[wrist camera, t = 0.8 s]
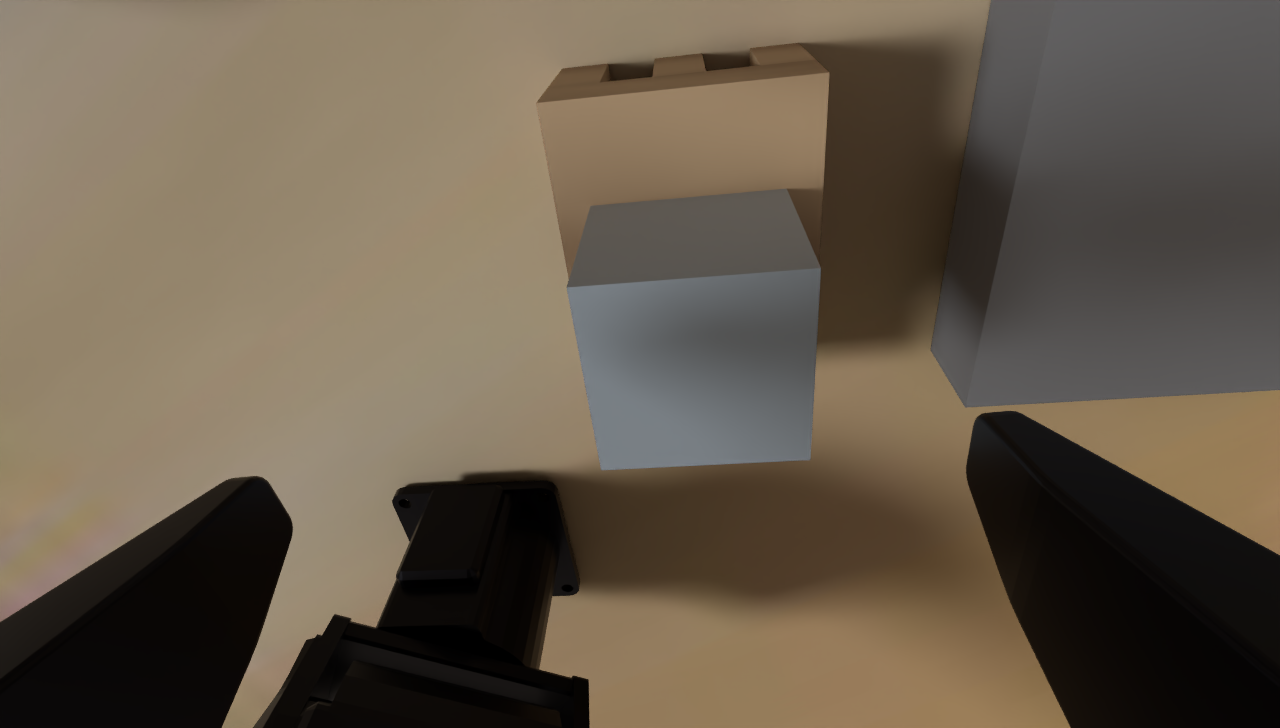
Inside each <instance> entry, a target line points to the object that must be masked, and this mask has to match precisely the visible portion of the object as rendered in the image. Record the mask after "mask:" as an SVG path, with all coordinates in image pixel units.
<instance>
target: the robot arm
mask: <svg viewBox="0 0 1280 728" xmlns="http://www.w3.org/2000/svg"><path fill="white" fill-rule="evenodd" d="M966 475H967V481H968V485H969V488H970V491H971V494H972V497H973V500H974V503H975V505H976V508H977V511H978V514H979V517H980V520H981V522H982V525H983V528H984V531H985V534H986V537H987V539H988V542H989V545H990V548H991V551H992V554H993V556H994V559H995V562H996V565H997V568H998V571H999V573H1000V576H1001V579H1002V582H1003V585H1004V587H1005V590H1006V593H1007V595H1008V598H1009V600H1010V603H1011V605H1012V607H1013V609H1014V612H1015V614H1016V616H1017V618H1018V620H1019V623H1020V625H1021V627H1022V629H1023V631H1024V633H1025V635H1026V637H1027V639H1028V641H1029V643H1030V645H1031V647H1032V649H1033V651H1034V653H1035V655H1036V658H1037V660H1038V662H1039V664H1040V666H1041V668H1042V670H1043V672H1044V674H1045V676H1046V678H1047V680H1048V682H1049V684H1050V686H1051V688H1052V690H1053V692H1054V694H1055V696H1056V699H1057V701H1058V703H1059V705H1060V707H1061V709H1062V711H1063V713H1064V715H1065V717H1066V719H1067V721H1068V723H1069V725H1070V727H1071V728H1280V555H1278V554H1276V553H1275V552H1273V551H1271V550H1269V549H1267V548H1265V547H1264V546H1262V545H1260V544H1258V543H1256V542H1255V541H1253V540H1251V539H1249V538H1247V537H1245V536H1244V535H1242V534H1240V533H1238V532H1236V531H1234V530H1233V529H1231V528H1229V527H1227V526H1225V525H1224V524H1222V523H1220V522H1218V521H1216V520H1214V519H1213V518H1211V517H1209V516H1207V515H1205V514H1203V513H1202V512H1200V511H1198V510H1196V509H1194V508H1193V507H1191V506H1189V505H1187V504H1185V503H1183V502H1182V501H1180V500H1178V499H1176V498H1174V497H1173V496H1171V495H1169V494H1167V493H1165V492H1163V491H1162V490H1160V489H1158V488H1156V487H1154V486H1152V485H1151V484H1149V483H1147V482H1145V481H1143V480H1142V479H1140V478H1138V477H1136V476H1134V475H1132V474H1131V473H1129V472H1127V471H1125V470H1123V469H1121V468H1120V467H1118V466H1116V465H1114V464H1112V463H1111V462H1109V461H1107V460H1105V459H1103V458H1101V457H1100V456H1098V455H1096V454H1094V453H1092V452H1091V451H1089V450H1087V449H1085V448H1083V447H1081V446H1080V445H1078V444H1076V443H1074V442H1072V441H1070V440H1069V439H1067V438H1065V437H1063V436H1061V435H1060V434H1058V433H1056V432H1054V431H1052V430H1050V429H1049V428H1047V427H1045V426H1043V425H1041V424H1039V423H1038V422H1036V421H1034V420H1032V419H1030V418H1029V417H1027V416H1025V415H1023V414H1021V413H1019V412H1016V411H1003V412H992V413H983V414H981V415H979V416H978V417H977V418H976V420H975V422H974V425H973V431H972V436H971V442H970V448H969V453H968V459H967V465H966ZM541 493H546V494H547V495H545V494H541ZM405 499H406V500H405ZM407 500H408V501H407ZM392 503H393V506H394V508H395V510H396V512H397V515H398V517H399V519H400V521H401V524H402V526H403V528H404V530H405V532H406V535H407V537H408V539H409V541H410V543H409V545H408V547H407V550H406V552H405V555H404V557H403V559H402V562H401V564H400V566H399V569H398V571H397V574H396V578H397V579H396V581H395V584H394V586H393V588H392V591H391V593H390V595H389V598H388V600H387V603H386V605H385V607H384V610H383V612H382V614H381V617H380V619H379V622H378V624H377V626H376V628H375V627H371V626H367V625H363V624H359V623H355V622H352V621H351V618H348V617H344V616H340V615H337V614H334V616H333V617H332V619H331V621H330V623H329V624H328V626H327V628H326V630H325V631H324V633H323V635H318V634H317V636H316V637H315V638H313V639H308V640H306V642H305V644H304V646H303V648H302V650H301V651H300V653H299V655H298V657H297V659H296V661H295V663H294V665H293V667H292V669H291V671H290V673H289V675H288V677H287V678H286V680H285V682H284V684H283V686H282V687H281V689H280V691H279V692H278V694H277V695H276V697H275V698H274V699H273V701H272V702H271V703H270V705H269V706H268V708H267V709H266V710H265V712H264V713H263V714H262V716H261V717H260V719H259V720H258V721H257V723H256V724H255V725H254V727H253V728H589V681H588V679H585V678H581V677H577V676H572V678H570V677H566V676H562V675H558V674H554V673H550V672H546V671H542V670H539V667H540V662H541V656H542V650H543V645H544V639H545V634H546V628H547V622H548V617H549V611H550V606H551V600H552V596H570V595H574V594H576V593H577V592H578V591H579V585H580V578H579V574H578V570H577V566H576V562H575V558H574V554H573V550H572V546H571V542H570V538H569V534H568V530H567V526H566V522H565V517H564V513H563V509H562V505H561V501H560V497H559V493H558V489H557V487H556V486H555V485H554V484H553V483H551V482H549V481H523V482H502V483H482V484H461V485H440V486H419V487H403V488H400V489H398V490H397V492H396V494H395V496H394V498H393V500H392ZM292 532H293V526H292V521H291V518H290V516H289V514H288V513H287V511H286V509H285V508H284V506H283V505H282V503H281V501H280V500H279V498H278V496H277V495H276V493H275V492H274V490H273V488H272V487H271V485H270V484H269V482H268V481H267V480H265V479H264V478H262V477H258V476H250V477H239V478H232V479H228V480H226V481H224V482H222V483H221V484H219V485H218V486H216V487H214V488H213V489H211V490H210V491H208V492H206V493H205V494H203V495H202V496H200V497H198V498H197V499H195V500H194V501H192V502H191V503H189V504H187V505H186V506H184V507H183V508H181V509H179V510H178V511H176V512H175V513H173V514H171V515H170V516H168V517H167V518H165V519H164V520H162V521H160V522H159V523H157V524H156V525H154V526H152V527H151V528H149V529H148V530H146V531H144V532H143V533H141V534H140V535H138V536H136V537H135V538H133V539H132V540H130V541H129V542H127V543H125V544H124V545H122V546H121V547H119V548H117V549H116V550H114V551H113V552H111V553H109V554H108V555H106V556H105V557H103V558H101V559H100V560H98V561H97V562H95V563H94V564H92V565H90V566H89V567H87V568H86V569H84V570H82V571H81V572H79V573H78V574H76V575H74V576H73V577H71V578H70V579H68V580H67V581H65V582H63V583H62V584H60V585H59V586H57V587H55V588H54V589H52V590H51V591H49V592H47V593H46V594H44V595H43V596H41V597H39V598H38V599H36V600H35V601H33V602H32V603H30V604H28V605H27V606H25V607H24V608H22V609H20V610H19V611H17V612H16V613H14V614H12V615H11V616H9V617H8V618H6V619H5V620H3V621H1V622H0V728H222V725H223V723H224V721H225V718H226V716H227V714H228V711H229V709H230V707H231V704H232V702H233V700H234V698H235V695H236V693H237V691H238V688H239V686H240V684H241V681H242V679H243V677H244V674H245V672H246V670H247V667H248V665H249V663H250V660H251V658H252V655H253V653H254V650H255V648H256V645H257V643H258V640H259V637H260V634H261V631H262V628H263V625H264V622H265V619H266V616H267V613H268V610H269V607H270V604H271V600H272V597H273V594H274V591H275V588H276V585H277V582H278V579H279V576H280V572H281V569H282V566H283V563H284V560H285V557H286V554H287V551H288V548H289V544H290V541H291V538H292Z"/></svg>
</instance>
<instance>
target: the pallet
mask: <svg viewBox="0 0 1280 728" xmlns="http://www.w3.org/2000/svg"><path fill="white" fill-rule="evenodd" d="M828 91H829V72H828V71H827V70H826V69H825V68H824V67H823V66H822V65H821V64H820V63H819V62H818V61H817V60H816V59H815V58H814V57H813V56H812V55H810V54H809V53H808V52H807V51H806V50H805V49H804V48H803V47H802V46H801V45H800V44H799V43H794V44H785V45H775V46H766V47H757V48H750V67H741V68H731V69H722V70H713V71H706V69H705V65H704V60H703V56H702V54H693V55H684V56H675V57H666V58H656V59H655V61H654V68H653V76H652V77H647V78H637V79H628V80H619V81H610V74H609V66H608V64H601V65H592V66H583V67H574V68H565V69H562V70H561V71H560V72H559V74H558V75H557V76H556V78H555V79H554V80H553V82H552V83H551V84H550V86H549V87H548V88H547V90H546V91H545V92H544V93H543V95H542V96H541V97H540V99H539V100H538V101H537V103H536V105H537V110H538V116H539V121H540V127H541V132H542V137H543V143H544V148H545V153H546V159H547V164H548V169H549V175H550V180H551V186H552V191H553V196H554V202H555V207H556V212H557V218H558V223H559V229H560V234H561V239H562V245H563V250H564V255H565V261H566V266H567V271H568V277H569V278H570V274H571V271H572V268H573V264H574V261H575V257H576V254H577V250H578V247H579V243H580V240H581V237H582V233H583V230H584V226H585V223H586V219H587V216H588V213H589V209H590V206H595V205H607V204H618V203H629V202H641V201H652V200H663V199H675V198H686V197H697V196H709V195H720V194H731V193H743V192H754V191H765V190H777V189H787V191H788V193H789V195H790V198H791V200H792V202H793V204H794V207H795V209H796V211H797V214H798V216H799V218H800V221H801V223H802V225H803V228H804V230H805V232H806V235H807V237H808V239H809V241H810V244H811V246H812V248H813V251H814V253H815V255H816V258H817V260H818V262H819V259H820V241H821V222H822V203H823V184H824V166H825V147H826V128H827V110H828Z"/></svg>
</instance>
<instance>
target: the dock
mask: <svg viewBox="0 0 1280 728" xmlns="http://www.w3.org/2000/svg"><path fill="white" fill-rule="evenodd" d="M931 352H932V353H933V355H934V357H935V358H936V360H937V362H938V363H939V365H940V367H941V368H942V370H943V372H944V373H945V375H946V377H947V378H948V380H949V382H950V383H951V385H952V386H953V388H954V390H955V391H956V393H957V395H958V396H959V398H960V400H961V401H962V403H963V405H964V406H965V407H982V406H1000V405H1018V404H1036V403H1054V402H1072V401H1090V400H1108V399H1126V398H1143V397H1161V396H1179V395H1197V394H1215V393H1233V392H1251V391H1269V390H1280V0H991V4H990V10H989V16H988V21H987V27H986V33H985V39H984V44H983V50H982V56H981V62H980V68H979V73H978V79H977V85H976V91H975V96H974V102H973V108H972V114H971V120H970V125H969V131H968V137H967V143H966V148H965V154H964V160H963V166H962V172H961V177H960V183H959V189H958V195H957V200H956V206H955V212H954V218H953V224H952V229H951V235H950V241H949V247H948V252H947V258H946V264H945V270H944V276H943V281H942V287H941V293H940V299H939V304H938V310H937V316H936V322H935V328H934V333H933V339H932V345H931Z"/></svg>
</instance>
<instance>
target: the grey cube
mask: <svg viewBox="0 0 1280 728" xmlns="http://www.w3.org/2000/svg"><path fill="white" fill-rule="evenodd" d="M820 277H821V267H820V265H819V262H818V260H817V258H816V255H815V253H814V251H813V248H812V246H811V244H810V241H809V239H808V237H807V235H806V232H805V230H804V228H803V225H802V223H801V221H800V218H799V216H798V214H797V211H796V209H795V207H794V204H793V202H792V200H791V198H790V195H789V193H788V191H787V189H777V190H765V191H754V192H743V193H731V194H720V195H709V196H697V197H686V198H675V199H663V200H652V201H641V202H629V203H618V204H607V205H595V206H590V209H589V213H588V216H587V219H586V223H585V226H584V230H583V233H582V237H581V240H580V243H579V247H578V250H577V254H576V257H575V261H574V264H573V268H572V271H571V274H570V278H569V281H568V285H567V292H568V297H569V303H570V308H571V313H572V318H573V324H574V329H575V334H576V339H577V345H578V350H579V355H580V361H581V366H582V371H583V376H584V382H585V387H586V392H587V397H588V403H589V408H590V413H591V419H592V424H593V429H594V434H595V440H596V445H597V450H598V456H599V461H600V466H601V470H617V469H638V468H658V467H678V466H699V465H719V464H739V463H759V462H780V461H800V460H810V457H811V439H812V421H813V403H814V385H815V367H816V349H817V331H818V313H819V295H820Z"/></svg>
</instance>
